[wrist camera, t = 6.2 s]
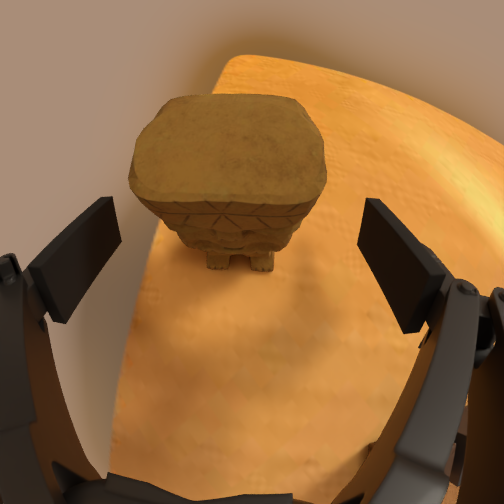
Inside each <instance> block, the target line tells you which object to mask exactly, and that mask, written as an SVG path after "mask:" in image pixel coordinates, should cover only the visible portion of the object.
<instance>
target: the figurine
mask: <svg viewBox="0 0 504 504" xmlns="http://www.w3.org/2000/svg"><path fill="white" fill-rule="evenodd" d="M128 180H129V185H130V189H131V190H132V192H133V193H134V194H135V195H136V196H137V198H138V199H139V200H140V202H141V203H142V204H143V205H144V206H145V207H147V208H148V209H149V210H150V211H151V212H153V213H154V214H155V215H156V216H158V217H159V218H161V219H162V220H163V221H164V223H165V224H166V226H167V227H168V228H169V229H170V230H173V231H176V232H177V234H178V236H179V238H180V239H181V240H182V242H183V243H184V244H185V245H186V246H188V247H190V248H198V249H200V250H202V251H205V252H207V268H210V269H228V266H229V259H230V255H233V254H244V255H245V256H250V260H251V270H256V271H263V272H267V271H273V268H274V252H277V251H280V250H281V249H283V248H284V247H286V246H287V244H288V243H289V241H290V239H291V237H292V233H293V232H295V231H296V230H297V229H298V228H299V227H300V224H301V222H302V220H303V218H305V217H306V216H307V215H308V213H309V212H310V211H311V209H312V207H313V206H314V205H315V203H316V201H317V199H318V198H319V196H320V194H321V193H322V191H323V189H324V187H325V184H326V181H327V170H326V165H325V156H324V141H323V139H322V136H321V134H320V131H319V129H318V128H317V127H316V125H315V124H314V123H313V121H312V120H311V118H310V117H309V115H308V113H307V112H306V110H305V108H304V107H303V106H302V105H301V104H300V103H298V102H297V101H296V100H295V99H291V98H287V97H282V96H274V95H261V94H203V95H190V96H182V97H178V98H174V99H171V100H169V101H168V102H167V103H166V104H165V105H164V106H163V107H162V108H161V109H160V110H159V112H158V113H157V115H156V117H155V118H154V120H153V121H151V122H150V123H149V124H148V125H147V126H146V127H145V128H144V129H143V130H142V132H141V133H140V135H139V137H138V138H137V140H136V144H135V150H134V155H133V158H132V163H131V167H130V172H129V177H128Z"/></svg>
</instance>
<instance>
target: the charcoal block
mask: <svg viewBox="0 0 504 504" xmlns="http://www.w3.org/2000/svg"><path fill="white" fill-rule="evenodd" d="M467 421H468V406H466V407H464V411H463V415H462V418H461V422H460V425H459V428H458V432H457V435H456V438H455V441H454V443H455V444H456V449H455V454H454V459H453V464H452V469H451V473H450V477H449V481H450V482H451V483H452V484H454V485H455V486H457V487H458V486H460V484H461V478H462V472H463V465H464V458H465V449H466V438H467Z"/></svg>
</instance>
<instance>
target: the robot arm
mask: <svg viewBox="0 0 504 504" xmlns="http://www.w3.org/2000/svg"><path fill="white" fill-rule="evenodd" d="M121 242H122V240H121V236H120V231H119V227H118V222H117V217H116V212H115V207H114V202H113V197H112V196H111V197H101V198H99V199H98V200H97V201H96V202H94V203H93V204H92V205H91V206H90V207H88V208H87V209H86V210H85V211H84V212H83V213H82V214H80V215H79V216H78V217H77V218H76V219H75V220H74V221H73V222H71V223H70V224H69V225H68V226H67V227H66V228H65V229H64V230H63V231H62V232H61V233H60V234H59V235H58V236H56V237H55V238H54V239H53V240H52V241H51V242H50V243H49V244H48V245H47V246H46V247H45V248H44V249H43V250H42V251H41V252H40V253H39V254H38V255H37V257H36V258H35V259H34V260H33V261H32V262H31V263H30V264H29V265H28V266H27V268H26V269H25V270H24V271H23V272H22V271H21V268H20V266H19V264H18V261H17V258H16V256H15V254H13V253H9V254H6V255H3V256H1V257H0V504H313V503H310V502H306V501H302V500H296V499H293V495H292V493H288V494H243V495H237V496H232V497H225V498H218V499H211V500H202V501H192V500H188V499H186V498H183V497H180V496H178V495H175V494H173V493H170V492H168V491H166V490H163V489H161V488H159V487H156V486H154V485H152V484H150V483H148V482H143V481H139V480H135V479H131V478H127V477H124V476H120V475H116V474H113V473H110V472H108V473H107V478H106V479H102V478H101V477H100V475H99V474H98V472H97V471H96V470H95V468H94V467H93V466H92V465H91V464H90V462H89V461H88V459H87V458H86V456H85V453H84V451H83V449H82V446H81V444H80V441H79V439H78V437H77V434H76V432H75V429H74V426H73V423H72V420H71V418H70V415H69V412H68V409H67V406H66V403H65V399H64V396H63V393H62V389H61V386H60V382H59V378H58V375H57V371H56V367H55V362H54V359H53V353H52V349H51V344H50V338H49V334H48V327H47V323H46V320H45V319H44V317H43V316H44V315H45V314H46V312H47V311H48V313H49V315H50V317H51V319H52V320H53V322H58V323H63V324H66V323H67V322H68V320H69V318H70V317H71V315H72V313H73V312H74V310H75V309H76V307H77V305H78V304H79V302H80V301H81V299H82V298H83V296H84V295H85V293H86V291H87V290H88V289H89V287H90V286H91V284H92V282H93V281H94V280H95V278H96V277H97V275H98V274H99V272H100V271H101V270H102V268H103V267H104V265H105V264H106V262H107V261H108V260H109V258H110V257H111V256H112V254H113V253H114V251H115V250H116V249H117V247H118V246H119V245H120V243H121ZM357 246H358V247H359V249H360V251H361V253H362V254H363V256H364V258H365V260H366V262H367V263H368V265H369V267H370V269H371V271H372V272H373V274H374V276H375V278H376V280H377V282H378V284H379V286H380V287H381V289H382V291H383V293H384V295H385V297H386V299H387V301H388V303H389V305H390V307H391V309H392V311H393V313H394V315H395V317H396V319H397V321H398V324H399V326H400V328H401V330H402V332H403V334H409V333H417V332H420V330H421V328H422V326H423V324H424V322H425V321H426V322H427V324H428V326H429V329H428V331H427V333H426V334H425V336H424V338H423V340H422V342H421V343H420V345H419V347H418V348H421V349H420V351H419V354H418V356H417V359H416V362H415V364H414V367H413V369H412V371H411V374H410V376H409V379H408V381H407V383H406V385H405V388H404V390H403V392H402V394H401V396H400V398H399V400H398V403H397V405H396V407H395V409H394V411H393V413H392V415H391V416H390V418H389V420H388V422H387V424H386V426H385V428H384V430H383V431H382V433H381V435H380V437H379V438H378V440H377V442H376V444H375V445H374V447H373V449H372V450H371V452H370V454H369V455H368V457H367V458H366V460H365V461H364V463H363V465H362V466H361V468H360V469H359V471H358V472H357V474H356V475H355V476H354V478H353V479H352V480H351V482H350V483H349V484H348V485H347V486H346V487H345V488H344V489H343V490H342V491H341V492H340V493H339V494H338V496H337V497H336V498H335V499H334V500H333V502H332V503H331V504H441V503H442V501H443V499H444V496H445V494H446V492H447V489H448V486H449V476H447V475H446V474H445V473H444V469H445V466H446V463H447V460H448V458H449V455H450V452H451V450H452V447H453V444H454V441H455V438H456V435H457V432H458V428H459V425H460V422H461V418H462V415H463V411H464V407H465V403H466V399H467V394H468V421H467V438H466V449H465V458H464V465H463V472H462V478H461V484H460V489H459V494H458V499H457V503H456V504H504V289H503V288H500V287H496V288H494V290H493V291H492V293H491V295H490V297H486V296H481V295H480V294H479V291H478V290H477V288H476V287H475V286H474V285H473V284H471V283H470V282H468V281H466V280H463V279H455V278H454V276H453V275H452V274H451V273H450V271H449V270H448V269H447V268H446V267H445V265H444V264H443V263H442V262H441V261H440V259H439V258H437V256H436V255H435V254H434V252H433V251H432V250H431V249H430V248H428V247H427V246H425V245H424V244H422V243H420V242H419V241H418V239H417V238H416V237H415V236H414V235H413V234H412V233H411V232H410V231H409V229H408V228H407V227H406V226H405V225H404V224H403V223H402V222H401V221H400V220H399V219H398V218H397V217H396V216H395V214H394V213H393V212H392V211H391V210H390V209H389V208H388V207H387V206H386V205H385V204H384V203H383V202H382V201H381V200H380V199H375V198H366V201H365V206H364V212H363V217H362V223H361V228H360V233H359V238H358V242H357ZM495 341H496V342H495ZM494 342H495V345H493V344H494Z"/></svg>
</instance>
